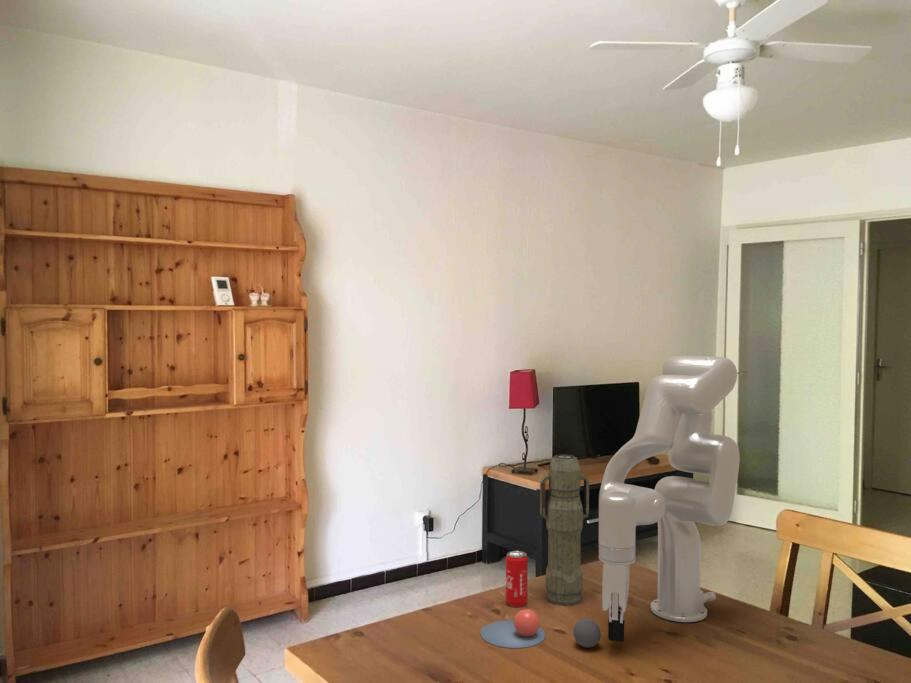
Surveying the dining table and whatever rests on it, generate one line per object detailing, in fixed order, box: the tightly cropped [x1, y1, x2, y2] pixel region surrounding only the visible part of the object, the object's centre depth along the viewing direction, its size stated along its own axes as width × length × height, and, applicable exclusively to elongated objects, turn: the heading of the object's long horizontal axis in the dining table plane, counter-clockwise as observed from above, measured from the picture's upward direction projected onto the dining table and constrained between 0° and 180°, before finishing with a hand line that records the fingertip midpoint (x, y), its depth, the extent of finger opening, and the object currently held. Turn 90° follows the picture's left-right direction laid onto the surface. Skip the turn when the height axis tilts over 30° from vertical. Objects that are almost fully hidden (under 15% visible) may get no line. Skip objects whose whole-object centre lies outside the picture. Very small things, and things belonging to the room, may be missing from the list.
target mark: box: [480, 619, 546, 649], centre depth 159 cm, size 14×14×1 cm
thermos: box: [539, 454, 590, 606], centre depth 179 cm, size 9×12×35 cm
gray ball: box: [573, 618, 602, 649], centre depth 153 cm, size 6×6×6 cm
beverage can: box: [505, 550, 529, 608], centre depth 176 cm, size 5×5×12 cm
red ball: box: [513, 608, 541, 637], centre depth 158 cm, size 6×6×6 cm
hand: (616, 639), depth 153 cm, fingers closed
